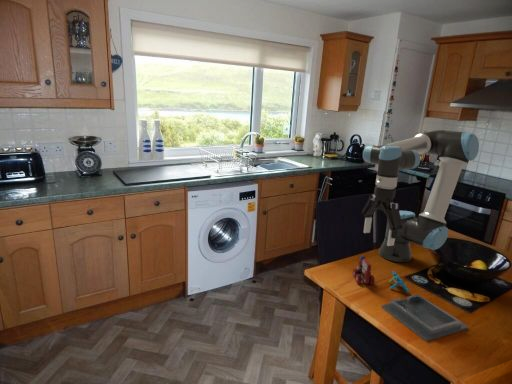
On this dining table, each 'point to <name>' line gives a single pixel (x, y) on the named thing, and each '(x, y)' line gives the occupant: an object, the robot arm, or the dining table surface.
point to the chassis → (424, 317)
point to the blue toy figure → (398, 282)
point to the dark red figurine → (363, 272)
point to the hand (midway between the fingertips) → (377, 238)
